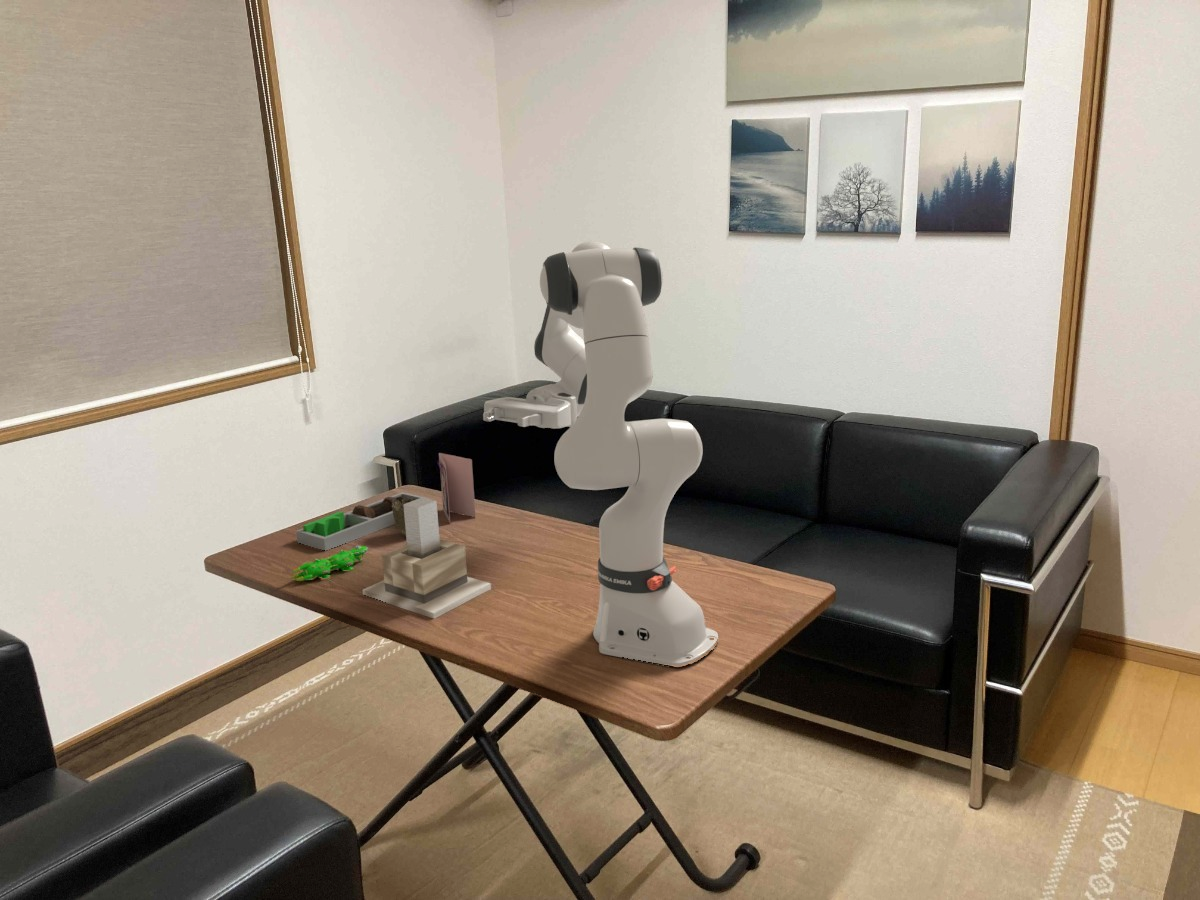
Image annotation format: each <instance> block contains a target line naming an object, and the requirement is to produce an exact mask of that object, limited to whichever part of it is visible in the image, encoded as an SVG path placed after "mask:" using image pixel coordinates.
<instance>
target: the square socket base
mask: <svg viewBox="0 0 1200 900" xmlns="http://www.w3.org/2000/svg"><path fill="white" fill-rule="evenodd" d="M466 555H467V554H466V546H465V545H463V544H459V543H456V542H455V543H454V542H452V541H447V540H443V539H440V551H438V552H436V553H434V554H432V555H430V556H427V557H425V558H423V559H420V558H416V557H412V556H409V555H408V550H407V543H405V544H404V545H402V546H399V547H396V548H394V549H392V550H390V551H389V550H388V551H387V552H385V553H383V554H381V559H382V560H381V561H382V568H383V569H382V570H383V580H381V581H379V582H377V583H374V584H371V585H370V586H367V587H366V588H363V589H362V595H363V594H364V595H367V596H370V597H372V598H371V599H373V598H375V599H374V600H376V599H378V600H377V601H379V600H381V601H380V602H382V601H383V603H385V602H386V603H385V604H388V605H392V606H394V607H397V608H401V609H403V610H406V611H410V612H412V613H416V614H417V615H418V614H419V615H422V616H425V617H427V618H430V619H431V618H432V619H434V620H435V619H436V618H438V617H441V616H442V615H444V614H446V613H448V612H449V611H452V610H453V609H456V608H457V607H459V606H461V605H464V604H465V603H467V602H469V601H471V600H473V599H476V597H479V596H480V595H483V594H484V593H486V592H488V591H490V590H492V583H490V582H487V581H485V580H484V581H483V580H480V579H477V578H475V577H474V578H473V577H470V576H468V572H467V571H468V568H467V556H466ZM364 595H363V596H364ZM367 596H366V597H367ZM370 597H369V598H370Z"/></svg>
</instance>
